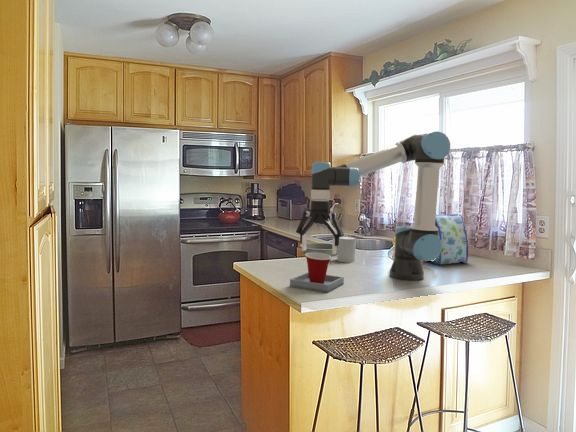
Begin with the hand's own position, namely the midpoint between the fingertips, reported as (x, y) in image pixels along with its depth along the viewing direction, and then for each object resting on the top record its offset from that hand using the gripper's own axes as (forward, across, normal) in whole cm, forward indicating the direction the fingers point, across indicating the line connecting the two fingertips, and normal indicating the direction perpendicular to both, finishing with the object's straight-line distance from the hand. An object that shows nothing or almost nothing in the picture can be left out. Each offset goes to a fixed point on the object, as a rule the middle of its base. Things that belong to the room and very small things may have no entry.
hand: (318, 252), depth 183 cm
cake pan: (+15, +31, -71) cm, 79 cm away
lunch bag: (+15, -35, -87) cm, 95 cm away
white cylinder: (+14, +10, -58) cm, 60 cm away
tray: (+14, 0, 0) cm, 14 cm away
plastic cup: (+13, 0, 0) cm, 13 cm away
